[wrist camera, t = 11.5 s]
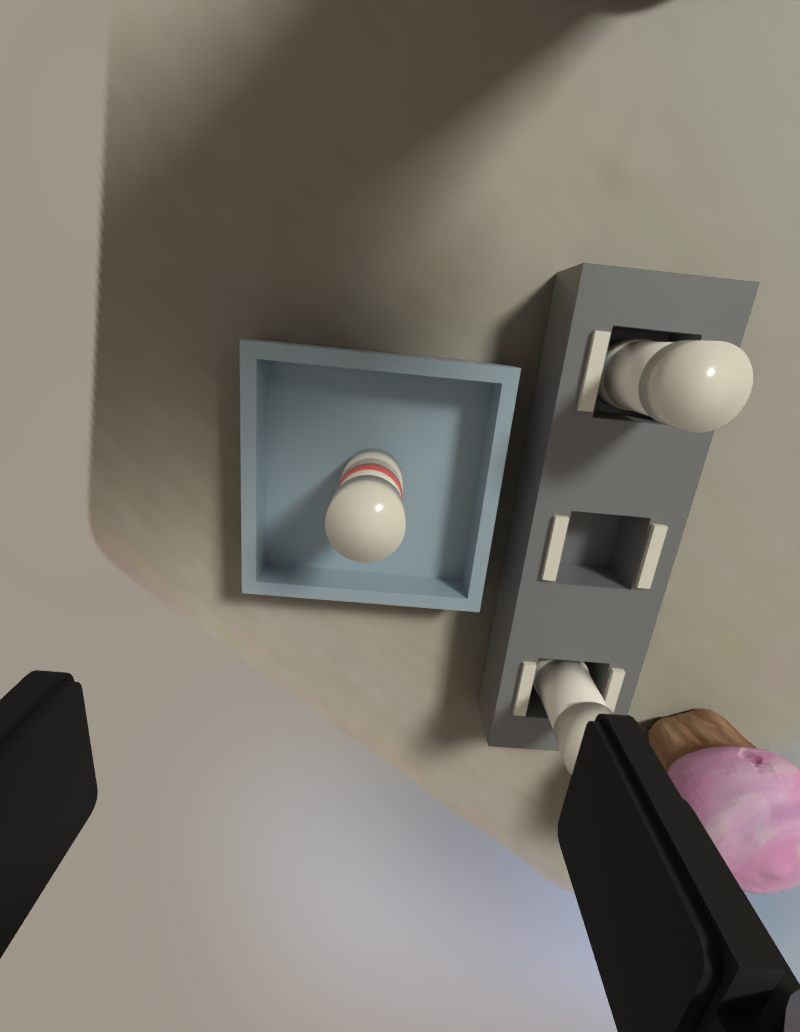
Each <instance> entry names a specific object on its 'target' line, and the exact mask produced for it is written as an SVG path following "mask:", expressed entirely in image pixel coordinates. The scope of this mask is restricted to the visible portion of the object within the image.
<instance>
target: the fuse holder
mask: <svg viewBox="0 0 800 1032" xmlns="http://www.w3.org/2000/svg"><path fill="white" fill-rule="evenodd" d="M759 283H760V282H752V281H743V280H734V279H725V278H716V277H707V276H698V275H689V274H680V273H671V272H662V271H653V270H644V269H635V268H626V267H617V266H608V265H599V264H589V263H582V264H579V265H577V266H574V267H571V268H569V269H566V270H563V271H560V272H558V273H556V278H555V283H554V289H553V294H552V300H551V305H550V311H549V316H548V322H547V327H546V333H545V338H544V344H543V349H542V355H541V360H540V366H539V371H538V377H537V382H536V388H535V393H534V398H533V404H532V409H531V415H530V420H529V426H528V431H527V437H526V442H525V448H524V453H523V459H522V464H521V470H520V475H519V481H518V486H517V492H516V497H515V503H514V508H513V514H512V519H511V525H510V530H509V536H508V541H507V547H506V552H505V558H504V563H503V569H502V574H501V580H500V585H499V591H498V596H497V602H496V607H495V613H494V618H493V624H492V629H491V635H490V640H489V646H488V651H487V657H486V662H485V668H484V673H483V679H482V684H481V690H480V695H479V701H478V703H479V707H480V712H481V716H482V720H483V725H484V729H485V733H486V738H487V742H488V746H496V747H510V748H525V749H539V750H554V751H559V748H558V745H557V743H556V740H555V738H554V734H553V728H552V725H551V723H550V720H549V718H548V715H547V713H546V710H545V708H544V705H543V703H542V700H541V698H540V695H539V694H538V693H537V692H536V690H535V687H534V685H533V682H534V677H535V673H536V668H537V664H538V659H539V658H544V659H557V660H570V661H583V662H584V663H585V664H586V666H587V668H588V670H589V674H590V676H591V678H592V680H593V682H594V683H595V685H596V687H597V689H598V690H599V692H600V694H601V696H602V697H603V699H604V701H605V703H606V704H607V706H608V708H609V709H610V710H611V711H612V712H613V713H614V714H616V715H627V714H628V711H629V708H630V704H631V701H632V698H633V694H634V691H635V688H636V685H637V681H638V678H639V675H640V672H641V668H642V665H643V662H644V659H645V655H646V652H647V649H648V645H649V642H650V639H651V636H652V632H653V629H654V626H655V623H656V619H657V616H658V613H659V610H660V606H661V603H662V600H663V596H664V593H665V590H666V587H667V583H668V580H669V577H670V574H671V570H672V567H673V564H674V560H675V557H676V554H677V551H678V547H679V544H680V541H681V538H682V534H683V531H684V528H685V525H686V521H687V518H688V515H689V511H690V508H691V505H692V502H693V498H694V495H695V492H696V489H697V485H698V482H699V479H700V476H701V472H702V469H703V466H704V462H705V459H706V456H707V453H708V449H709V446H710V443H711V440H712V436H713V433H714V430H712V431H709V432H702V433H694V432H688V431H685V430H682V429H679V428H676V427H673V426H670V425H667V424H664V423H661V422H658V421H656V420H654V419H653V418H651V417H650V416H648V415H645V414H642V413H639V412H635V411H627V410H623V409H619V408H616V407H613V406H610V405H607V404H604V403H602V402H600V401H599V400H597V395H598V390H599V386H600V381H601V377H602V373H603V368H604V364H605V359H606V355H607V350H608V346H609V342H611V341H613V340H617V339H647V340H651V341H654V342H677V341H682V340H704V341H724V342H728V343H731V344H734V345H735V346H737V347H739V348H740V345H741V342H742V338H743V335H744V332H745V328H746V325H747V322H748V319H749V315H750V312H751V309H752V306H753V302H754V299H755V296H756V293H757V289H758V286H759Z"/></svg>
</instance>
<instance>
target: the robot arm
mask: <svg viewBox="0 0 800 1032" xmlns="http://www.w3.org/2000/svg"><path fill="white" fill-rule="evenodd" d="M96 800H97V783H96V778H95V770H94V764H93V757H92V750H91V745H90V737H89V731H88V724H87V718H86V711H85V704H84V698H83V691H82V686H81V684H80V683H79V682H74V679H73V676H72V675H71V674H69V673H63V672H51V671H38V670H36V671H32V672H30V673H29V674H28V675H26V676H25V677H24V678H23V679H22V680H21V681H20V682H19V683H18V684H17V685H16V686H15V687H13V688H12V689H11V690H10V691H9V692H8V693H7V694H6V695H5V696H4V697H3V698H2V699H1V700H0V958H1V957H2V955H3V953H4V952H5V950H6V949H7V947H8V946H9V944H10V942H11V941H12V939H13V938H14V936H15V934H16V933H17V931H18V930H19V928H20V926H21V925H22V923H23V922H24V920H25V918H26V917H27V915H28V914H29V912H30V910H31V909H32V907H33V906H34V904H35V902H36V901H37V899H38V898H39V896H40V894H41V893H42V891H43V890H44V888H45V886H46V885H47V883H48V881H49V880H50V878H51V877H52V875H53V874H54V872H55V870H56V869H57V867H58V866H59V864H60V863H61V861H62V859H63V858H64V856H65V855H66V853H67V851H68V850H69V848H70V846H71V845H72V843H73V842H74V840H75V839H76V837H77V835H78V834H79V832H80V830H81V829H82V827H83V826H84V824H85V823H86V821H87V819H88V818H89V816H90V814H91V813H92V811H93V809H94V806H95V803H96ZM558 838H559V843H560V847H561V850H562V854H563V857H564V860H565V863H566V866H567V870H568V873H569V876H570V879H571V883H572V886H573V889H574V892H575V895H576V899H577V902H578V905H579V908H580V911H581V915H582V918H583V921H584V924H585V927H586V931H587V934H588V937H589V941H590V944H591V947H592V950H593V953H594V957H595V960H596V963H597V966H598V970H599V973H600V976H601V979H602V982H603V985H604V989H605V992H606V995H607V998H608V1002H609V1005H610V1008H611V1011H612V1014H613V1018H614V1021H615V1024H616V1027H617V1031H618V1032H800V984H799V982H798V981H797V979H796V977H795V976H794V974H793V973H792V971H791V970H790V968H789V966H788V964H787V963H786V961H785V960H784V958H783V956H782V954H781V953H780V951H779V950H778V948H777V946H776V945H775V943H774V941H773V940H772V938H771V936H770V935H769V933H768V931H767V930H766V928H765V927H764V925H763V923H762V922H761V920H760V918H759V917H758V915H757V913H756V912H755V910H754V908H753V907H752V905H751V904H750V902H749V900H748V899H747V897H746V895H745V894H744V892H743V890H742V889H741V887H740V885H739V884H738V882H737V880H736V879H735V877H734V876H733V874H732V872H731V871H730V869H729V867H728V866H727V864H726V862H725V861H724V859H723V857H722V856H721V854H720V853H719V851H718V849H717V848H716V846H715V844H714V843H713V841H712V839H711V838H710V836H709V834H708V833H707V831H706V829H705V828H704V826H703V825H702V823H701V821H700V820H699V818H698V816H697V815H696V813H695V811H694V810H693V809H692V807H691V806H690V805H689V803H688V802H687V801H686V800H684V799H683V798H682V797H681V795H680V793H679V792H678V790H677V788H676V787H675V785H674V783H673V782H672V780H671V778H670V777H669V775H668V773H667V772H666V770H665V768H664V767H663V765H662V763H661V762H660V760H659V758H658V757H657V755H656V753H655V752H654V750H653V748H652V747H651V745H650V743H649V742H648V740H647V738H646V737H645V735H644V733H643V732H642V730H641V728H640V727H639V725H638V723H637V722H636V720H635V719H634V718H633V717H631V716H629V715H616V714H598V715H597V716H596V719H595V721H589V722H588V723H587V725H586V727H585V731H584V734H583V738H582V741H581V745H580V748H579V752H578V755H577V759H576V762H575V766H574V769H573V773H572V776H571V780H570V783H569V787H568V790H567V794H566V797H565V801H564V804H563V808H562V811H561V815H560V818H559V822H558Z"/></svg>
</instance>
